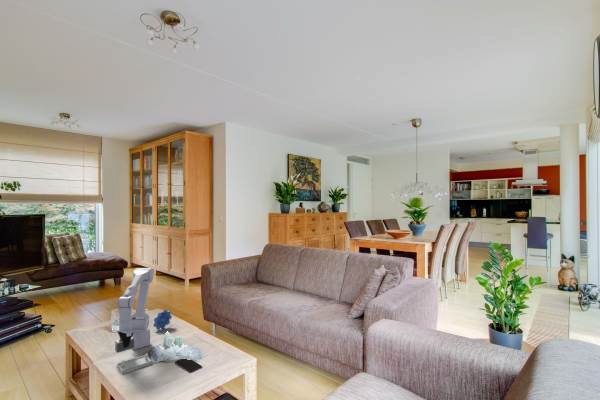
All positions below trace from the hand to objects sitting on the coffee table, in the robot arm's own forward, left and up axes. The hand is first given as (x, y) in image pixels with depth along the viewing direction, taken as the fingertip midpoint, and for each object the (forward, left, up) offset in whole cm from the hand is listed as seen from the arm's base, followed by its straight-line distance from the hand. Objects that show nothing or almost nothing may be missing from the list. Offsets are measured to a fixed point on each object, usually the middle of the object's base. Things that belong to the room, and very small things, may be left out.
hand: (125, 345), depth 164 cm
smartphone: (-23, +26, -9) cm, 36 cm away
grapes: (-30, -30, -8) cm, 43 cm away
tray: (-3, +8, -8) cm, 12 cm away
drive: (0, 0, -2) cm, 2 cm away
